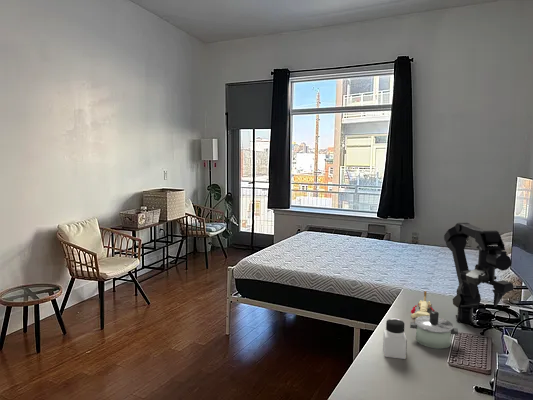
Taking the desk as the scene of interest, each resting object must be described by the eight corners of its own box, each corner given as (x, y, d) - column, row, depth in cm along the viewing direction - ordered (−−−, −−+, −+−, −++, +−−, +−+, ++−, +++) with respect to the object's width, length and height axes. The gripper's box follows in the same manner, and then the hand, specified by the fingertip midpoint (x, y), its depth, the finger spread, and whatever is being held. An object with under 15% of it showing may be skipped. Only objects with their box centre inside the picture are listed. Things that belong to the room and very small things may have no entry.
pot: (410, 330, 157) (410, 316, 156) (455, 337, 151) (456, 322, 150) (409, 344, 146) (410, 328, 145) (458, 352, 140) (459, 335, 139)
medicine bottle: (406, 359, 135) (407, 325, 134) (384, 357, 137) (385, 324, 135) (403, 349, 142) (404, 317, 141) (382, 347, 144) (383, 315, 142)
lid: (415, 316, 156) (415, 304, 156) (451, 321, 152) (452, 308, 151) (414, 329, 144) (415, 316, 144) (454, 335, 140) (454, 322, 139)
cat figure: (413, 307, 185) (408, 323, 162) (414, 289, 185) (410, 302, 162) (436, 310, 181) (435, 328, 158) (437, 292, 180) (436, 306, 158)
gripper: (451, 259, 156) (449, 297, 158) (494, 271, 139) (492, 314, 141) (471, 256, 161) (468, 293, 162) (515, 268, 144) (512, 309, 145)
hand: (484, 302), depth 153 cm, fingers open, 9 cm apart
